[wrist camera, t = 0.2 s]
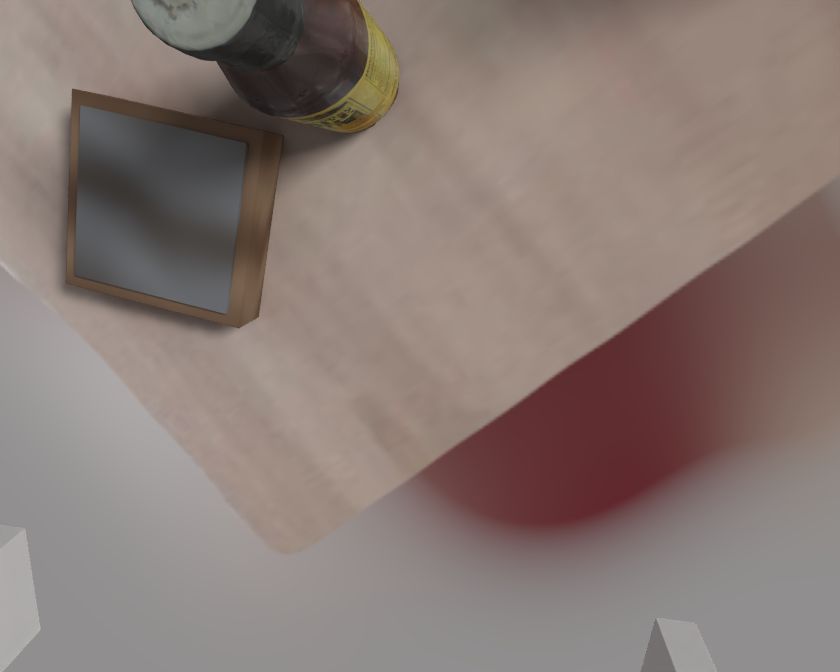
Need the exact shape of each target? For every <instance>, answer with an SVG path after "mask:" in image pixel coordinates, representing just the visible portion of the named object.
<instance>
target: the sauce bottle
mask: <svg viewBox="0 0 840 672" xmlns="http://www.w3.org/2000/svg"><path fill="white" fill-rule="evenodd" d="M131 2H132V4H133V7H134V9H135V10H136V12H137V14H138V15H139V17H140V19H141V20H142V22H143V23H144V25H145V26H146V27H147V28H148V29H149V30H150V31H151V32H152V33H153V34H154V35H155V36H157V37H158V38H159V39H160V40H162V41H163V42H164V43H165V44H167V45H169V46H171V47H173V48H175V49H177V50H179V51H181V52H183V53H184V54H187V55H190V56H193V57H195V58H198V59H201V60H206V61H217V63H218V65H219V66H220V68H221V70H222V71H223V73H224V75H225V76H226V78H227V80H228V81H229V83H230V84H231V86H232V88H233V89H234V90H235V92H236V93H237V94H238V95H239V96H240V97H241V98H242V99H243V100H244V101H245V102H246V103H248V104H249V105H250V106H251V107H253V108H255V109H257V110H258V111H260V112H263V113H265V114H268V115H271V116H275V117H279V118H283V119H287V120H291V121H295V122H299V123H303V124H307V125H311V126H315V127H319V128H324V129H328V130H331V131H336V132H341V133H352V132H358V131H361V130H364V129H366V128H370V127H372V126H374V125H375V123H376V122H378V121H379V120H380V119H381V118H382V117H383V116H384V115H385V114H386V113H387V111H388V110H389V109H390V107H391V106H392V104H393V103H394V101H395V99H396V97H397V94H398V85H399V66H398V61H397V57H396V54H395V51H394V49H393V47H392V45H391V43H390V41H389V40H388V38H387V37H386V35H385V34H384V33H383V32H382V30H381V29H380V28H379V26H378V25H377V24H376V22H375V21H374V20H373V18H372V17H371V16H370V14H369V13H368V12H367V11H366V9H365V8H364V7H363V5H362V4H361V3H360V1H359V0H131Z"/></svg>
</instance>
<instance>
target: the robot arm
mask: <svg viewBox="0 0 840 672" xmlns="http://www.w3.org/2000/svg"><path fill="white" fill-rule="evenodd" d="M40 630H41V628H40V621H39V615H38V609H37V603H36V596H35V589H34V583H33V577H32V570H31V563H30V557H29V550H28V544H27V537H26V531H25V528H22V527H15V526H9V525H1V524H0V672H3V671H4V670H5V668H7V666H8V665H9V664H10V663H11V662H12V661H13V660H14V659H15V658H16V657H17V655H18V654H19V653H20V652H21V651H22V650H23V649H24V648H25V646H26V645H27V644H28V643H29V642H30V641H31V640H32V639H33V638H34V637H35V635H36V634H37V633H38V632H39V631H40ZM641 672H717V670H716V667H715V666H714V663H713V661H712V659H711V656H710V654H709V652H708V650H707V648H706V645H705V643H704V641H703V639H702V636H701V634H700V632H699V630H698V628H697V626H696V623H691V622H684V621H677V620H670V619H663V618H656V619H655V622H654V626H653V630H652V633H651V637H650V640H649V644H648V648H647V651H646V655H645V658H644V662H643V666H642V670H641Z"/></svg>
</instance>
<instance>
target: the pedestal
mask: <svg viewBox="0 0 840 672" xmlns="http://www.w3.org/2000/svg"><path fill="white" fill-rule="evenodd" d="M282 140H283V135H279V134H274V133H270V132H266V131H261V130H257V129H252V128H248V127H243V126H239V125H235V124H230V123H226V122H221V121H217V120H213V119H208V118H204V117H199V116H195V115H190V114H186V113H182V112H177V111H173V110H168V109H164V108H160V107H155V106H151V105H146V104H142V103H137V102H133V101H129V100H124V99H120V98H115V97H111V96H107V95H102V94H96V93H91V92H86V91H81V90H76V89H72V109H71V140H70V170H69V201H68V232H67V263H66V284H70V285H74V286H78V287H82V288H85V289H89V290H93V291H97V292H101V293H105V294H109V295H113V296H116V297H120V298H124V299H128V300H132V301H136V302H140V303H144V304H147V305H151V306H155V307H159V308H163V309H167V310H171V311H175V312H178V313H182V314H186V315H190V316H194V317H198V318H202V319H206V320H209V321H213V322H217V323H221V324H225V325H229V326H233V327H237V328H240V327H242V326H243V325H245V324H247V323H249V322H251V321H252V320H254V319H256V318H258V317H259V309H260V302H261V295H262V287H263V280H264V273H265V265H266V258H267V251H268V243H269V236H270V228H271V221H272V214H273V206H274V199H275V192H276V184H277V177H278V170H279V162H280V155H281V148H282Z"/></svg>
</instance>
